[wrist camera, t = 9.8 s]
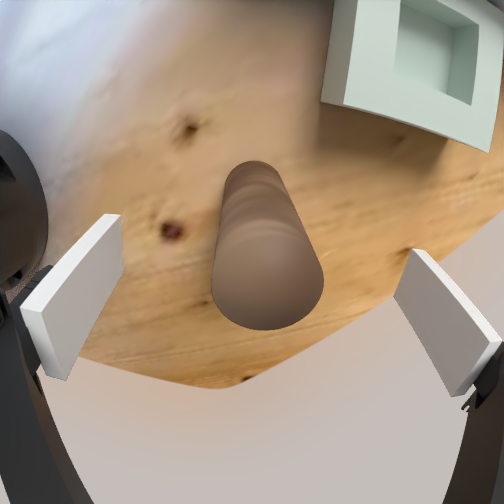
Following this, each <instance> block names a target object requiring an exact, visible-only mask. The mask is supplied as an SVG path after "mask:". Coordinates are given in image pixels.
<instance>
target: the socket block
mask: <svg viewBox="0 0 504 504" xmlns="http://www.w3.org/2000/svg"><path fill="white" fill-rule="evenodd" d="M503 46H504V13H503V12H502V11H501V10H499V9H498V8H497V7H495V6H494V5H492V4H491V3H489V2H488V1H487V0H335V2H334V10H333V18H332V25H331V33H330V40H329V47H328V54H327V60H326V67H325V73H324V80H323V86H322V92H321V98H320V102H324V103H329V104H333V105H338V106H342V107H346V108H351V109H355V110H359V111H363V112H366V113H370V114H374V115H377V116H381V117H385V118H388V119H391V120H395V121H398V122H401V123H404V124H408V125H411V126H414V127H417V128H420V129H423V130H426V131H429V132H431V133H434V134H437V135H440V136H442V137H445V138H448V139H451V140H454V141H456V142H459V143H462V144H465V145H468V146H471V147H473V148H476V149H479V150H481V151H484V152H486V153H489V149H490V144H491V139H492V135H493V129H494V124H495V119H496V113H497V106H498V100H499V92H500V84H501V74H502V63H503Z"/></svg>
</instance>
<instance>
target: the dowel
mask: <svg viewBox="0 0 504 504" xmlns="http://www.w3.org/2000/svg"><path fill="white" fill-rule="evenodd" d="M323 286H324V276H323V271H322V268H321V265H320V263H319V261H318V258H317V256H316V254H315V252H314V249H313V247H312V245H311V242H310V240H309V238H308V236H307V233H306V231H305V229H304V227H303V225H302V222H301V220H300V218H299V216H298V214H297V211H296V209H295V207H294V205H293V203H292V201H291V198H290V196H289V194H288V192H287V190H286V188H285V186H284V184H283V182H282V179H281V177H280V175H279V174H278V172H277V171H276V170H275V169H274V168H273V167H272V166H270V165H269V164H267V163H264V162H261V161H248V162H244V163H242V164H240V165H238V166H237V167H235V168H234V169H233V170H232V171H231V172H230V174H229V176H228V178H227V180H226V184H225V190H224V197H223V203H222V210H221V217H220V223H219V230H218V237H217V244H216V251H215V259H214V266H213V273H212V281H211V291H212V296H213V299H214V302H215V304H216V306H217V307H218V309H219V310H220V311H221V313H222V314H223V315H224V316H225V317H227V318H228V319H229V320H231V321H232V322H234V323H236V324H238V325H240V326H242V327H245V328H249V329H253V330H275V329H281V328H284V327H287V326H290V325H292V324H294V323H296V322H298V321H300V320H301V319H303V318H304V317H305V316H306V315H308V314H309V313H310V312H311V311H312V310H313V308H314V307H315V306H316V304H317V303H318V301H319V299H320V297H321V294H322V291H323Z"/></svg>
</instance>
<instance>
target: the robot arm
mask: <svg viewBox="0 0 504 504" xmlns="http://www.w3.org/2000/svg"><path fill="white" fill-rule="evenodd" d="M47 232H48V218H47V208H46V202H45V197H44V193H43V190H42V186H41V183H40V180H39V178H38V175H37V173H36V170H35V168H34V166H33V164H32V162H31V161H30V159H29V157H28V156H27V154H26V153H25V151H24V150H23V149H22V147H21V146H20V145H19V144H18V143H17V142H16V141H15V140H14V139H13V138H12V137H11V136H10V135H8V134H7V133H5V132H4V131H2V130H0V475H1V478H2V481H3V484H4V487H5V490H6V493H7V495H8V498H9V501H10V504H94V503H93V501H92V499H91V498H90V496H89V494H88V492H87V491H86V489H85V487H84V485H83V483H82V481H81V480H80V478H79V476H78V474H77V472H76V470H75V468H74V466H73V464H72V461H71V459H70V458H69V455H68V453H67V451H66V449H65V446H64V444H63V442H62V439H61V437H60V435H59V432H58V430H57V427H56V425H55V422H54V420H53V417H52V415H51V412H50V409H49V406H48V404H47V401H46V398H45V395H44V392H43V389H42V386H41V383H40V380H39V377H38V375H37V373H36V371H37V369H38V367H39V366H40V364H41V365H42V367H43V369H44V371H45V373H46V375H47V376H50V377H54V378H57V379H61V380H64V381H66V380H67V378H68V375H69V374H70V371H71V369H72V367H73V365H74V363H75V361H76V359H77V357H78V355H79V353H80V351H81V349H82V347H83V345H84V343H85V341H86V339H87V337H88V335H89V333H90V331H91V329H92V328H93V326H94V324H95V322H96V320H97V318H98V316H99V314H100V313H101V311H102V309H103V307H104V305H105V304H106V302H107V300H108V298H109V296H110V295H111V293H112V291H113V289H114V288H115V286H116V284H117V282H118V281H119V279H120V277H121V276H122V274H123V272H124V264H123V250H122V232H121V215H114V214H104V215H103V216H102V217H101V218H100V219H99V220H98V221H97V222H96V223H95V224H94V225H93V226H92V227H91V228H90V229H89V230H88V231H87V232H86V233H85V234H84V235H83V236H82V237H81V238H80V239H79V240H78V241H77V242H76V243H75V244H74V245H73V246H72V247H71V248H70V250H69V251H68V252H67V253H66V254H65V255H64V256H63V257H62V258H61V259H60V260H59V261H58V263H57V264H56V265H55V266H51V265H48V266H47V267H45V268H43V269H42V270H40V271H38V272H37V273H36V275H35V276H34V277H33V278H32V279H31V282H28V283H27V285H26V286H25V288H23V289H22V290H21V291H20V293H19V294H18V295H17V296H16V297H15V299H14V300H13V301H12V302H11V303H10V304H8V301H7V298H6V294H5V291H7V290H10V289H12V288H14V287H16V286H17V285H19V284H20V283H21V282H22V281H23V280H24V279H25V278H26V277H27V276H28V275H29V274H30V273H31V272H32V271H33V269H34V268H35V267H36V266H37V265H38V263H39V261H40V260H41V258H42V255H43V253H44V250H45V246H46V241H47ZM393 297H394V298H395V300H396V301H397V303H398V305H399V306H400V308H401V309H402V311H403V313H404V314H405V316H406V318H407V319H408V321H409V323H410V324H411V326H412V327H413V329H414V331H415V333H416V334H417V336H418V338H419V339H420V341H421V343H422V344H423V346H424V348H425V350H426V352H427V353H428V355H429V357H430V359H431V360H432V362H433V364H434V366H435V368H436V370H437V371H438V373H439V375H440V377H441V379H442V380H443V383H444V384H445V386H446V388H447V390H448V392H449V394H450V396H451V397H455V396H460V395H464V394H465V393H466V392H467V390H468V389H469V388H470V387H471V386H472V384H474V386H475V387H476V390H475V391H474V393H473V394H472V395H471V396H470V398H469V399H468V400H467V401H466V402H465V404H464V405H463V406H462V408H461V409H462V410H464V408H465V407H466V406H468V405H469V406H470V407H469V408H468V410H467V411H466V412H468V417H467V422H466V426H465V431H464V435H463V439H462V443H461V447H460V451H459V454H458V458H457V462H456V465H455V468H454V472H453V475H452V478H451V481H450V484H449V487H448V490H447V493H446V495H445V498H444V501H443V503H442V504H504V342H503V341H502V339H501V338H500V337H499V336H498V334H497V333H496V332H495V330H494V329H493V328H492V326H491V325H490V324H489V323H488V321H487V320H486V319H485V318H484V316H483V315H482V314H481V313H480V312H479V311H478V309H477V308H476V307H475V306H474V304H473V303H472V302H471V301H470V300H469V298H468V297H467V296H466V295H465V294H464V293H463V292H462V290H461V289H460V288H459V287H458V286H457V285H456V284H455V283H454V282H453V280H452V279H451V278H450V277H449V276H448V275H447V274H446V273H445V272H444V270H443V269H442V268H441V267H440V266H439V265H438V264H437V263H436V262H435V261H434V260H433V259H432V258H431V257H430V256H429V255H428V253H427V252H426V251H425V250H420V249H413V248H412V250H411V252H410V255H409V258H408V261H407V263H406V266H405V269H404V271H403V274H402V276H401V279H400V282H399V284H398V287H397V289H396V292H395V294H394V296H393Z"/></svg>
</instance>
